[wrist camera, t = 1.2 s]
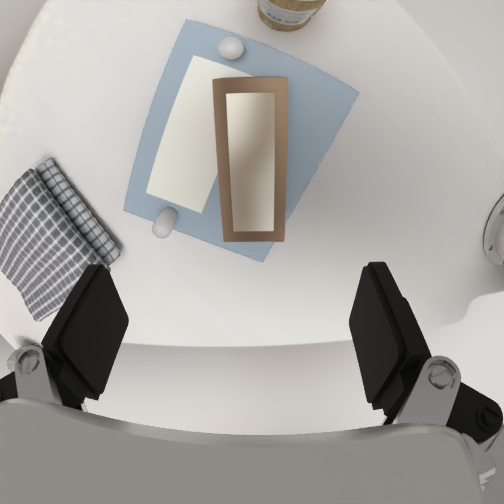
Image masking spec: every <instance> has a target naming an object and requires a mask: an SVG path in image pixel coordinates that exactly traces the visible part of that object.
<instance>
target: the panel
mask: <svg viewBox="0 0 504 504" xmlns="http://www.w3.org/2000/svg"><path fill="white" fill-rule="evenodd" d="M229 77H287V78H288V143H287V183H286V211H285V223H286V222H287V220H288V218H289V216H290V215H291V213H292V211H293V209H294V208H295V206H296V204H297V202H298V201H299V199H300V197H301V195H302V194H303V192H304V190H305V188H306V187H307V185H308V183H309V181H310V180H311V178H312V176H313V174H314V173H315V171H316V169H317V167H318V166H319V164H320V162H321V160H322V158H323V157H324V155H325V153H326V151H327V150H328V148H329V146H330V144H331V143H332V141H333V139H334V137H335V135H336V134H337V132H338V130H339V128H340V126H341V125H342V123H343V121H344V119H345V117H346V116H347V114H348V112H349V110H350V108H351V107H352V105H353V103H354V101H355V99H356V98H357V96H358V94H359V92H358V91H356V90H355V89H353V88H351V87H349V86H348V85H346V84H344V83H343V82H341V81H339V80H337V79H335V78H334V77H332V76H330V75H328V74H326V73H324V72H322V71H321V70H319V69H317V68H315V67H313V66H311V65H309V64H307V63H305V62H303V61H301V60H298V59H296V58H294V57H292V56H290V55H288V54H285V53H283V52H281V51H278V50H276V49H274V48H271V47H269V46H266V45H264V44H261V43H259V42H256V41H254V40H251V39H248V38H246V37H243V36H240V35H237V34H234V33H231V32H228V31H225V30H222V29H219V28H216V27H212V26H209V25H206V24H202V23H198V22H195V21H191V20H187V19H186V21H185V23H184V25H183V27H182V29H181V31H180V33H179V36H178V38H177V40H176V42H175V45H174V47H173V49H172V52H171V54H170V56H169V59H168V61H167V64H166V66H165V69H164V71H163V74H162V77H161V79H160V82H159V85H158V87H157V90H156V93H155V96H154V99H153V102H152V105H151V108H150V111H149V114H148V117H147V120H146V123H145V126H144V130H143V133H142V136H141V140H140V143H139V147H138V151H137V154H136V158H135V162H134V166H133V170H132V174H131V178H130V182H129V186H128V191H127V195H126V200H125V205H124V211H126V212H129V213H132V214H134V215H137V216H139V217H142V218H145V219H147V220H150V221H153V222H155V223H154V224H153V226H152V231H153V233H154V235H156V236H157V237H159V238H166V237H168V236H169V234H170V232H171V230H172V229H174V230H177V231H179V232H182V233H185V234H187V235H190V236H192V237H195V238H198V239H201V240H203V241H206V242H209V243H211V244H214V245H217V246H219V247H222V248H225V249H227V250H230V251H233V252H235V253H238V254H241V255H243V256H246V257H249V258H251V259H254V260H257V261H260V262H262V263H263V261H264V259H265V258H266V256H267V254H268V253H269V251H270V249H271V247H272V246H273V244H274V242H224V241H223V230H222V218H221V206H220V194H219V181H218V167H217V153H216V138H215V121H214V104H213V85H212V79H217V78H229Z"/></svg>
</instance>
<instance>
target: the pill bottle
mask: <svg viewBox="0 0 504 504" xmlns="http://www.w3.org/2000/svg"><path fill="white" fill-rule="evenodd" d="M325 1H326V0H258V12H259V15H260V17H261V19H262V20H263V21H264V22H265V23H266V24H267V25H268V26H270V27H272V28H274V29H276V30H280V31H293V30H298V29H300V28H302V27H304V26H305V25H306V24H307V23H308V21H309V20H310V19H311V16H313V15H315V14H316V13H317V12H318V10H319V9H320V8H321V7H322V6H323V4H324V3H325Z"/></svg>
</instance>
